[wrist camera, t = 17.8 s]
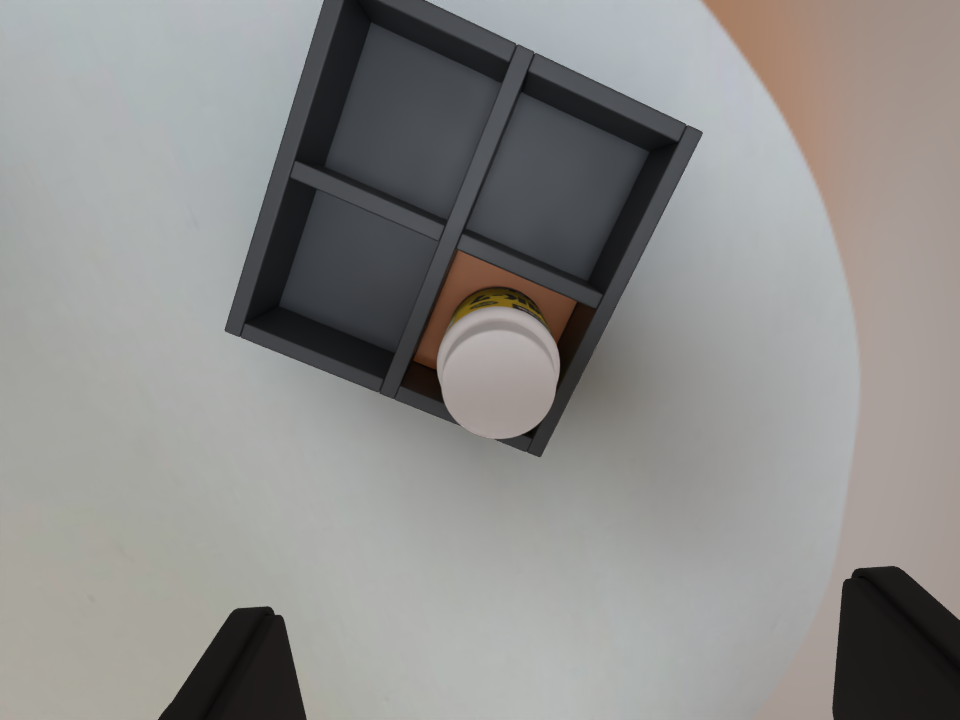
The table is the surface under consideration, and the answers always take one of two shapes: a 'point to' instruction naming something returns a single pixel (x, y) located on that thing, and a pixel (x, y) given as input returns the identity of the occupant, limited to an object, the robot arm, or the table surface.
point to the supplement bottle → (498, 364)
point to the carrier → (447, 200)
